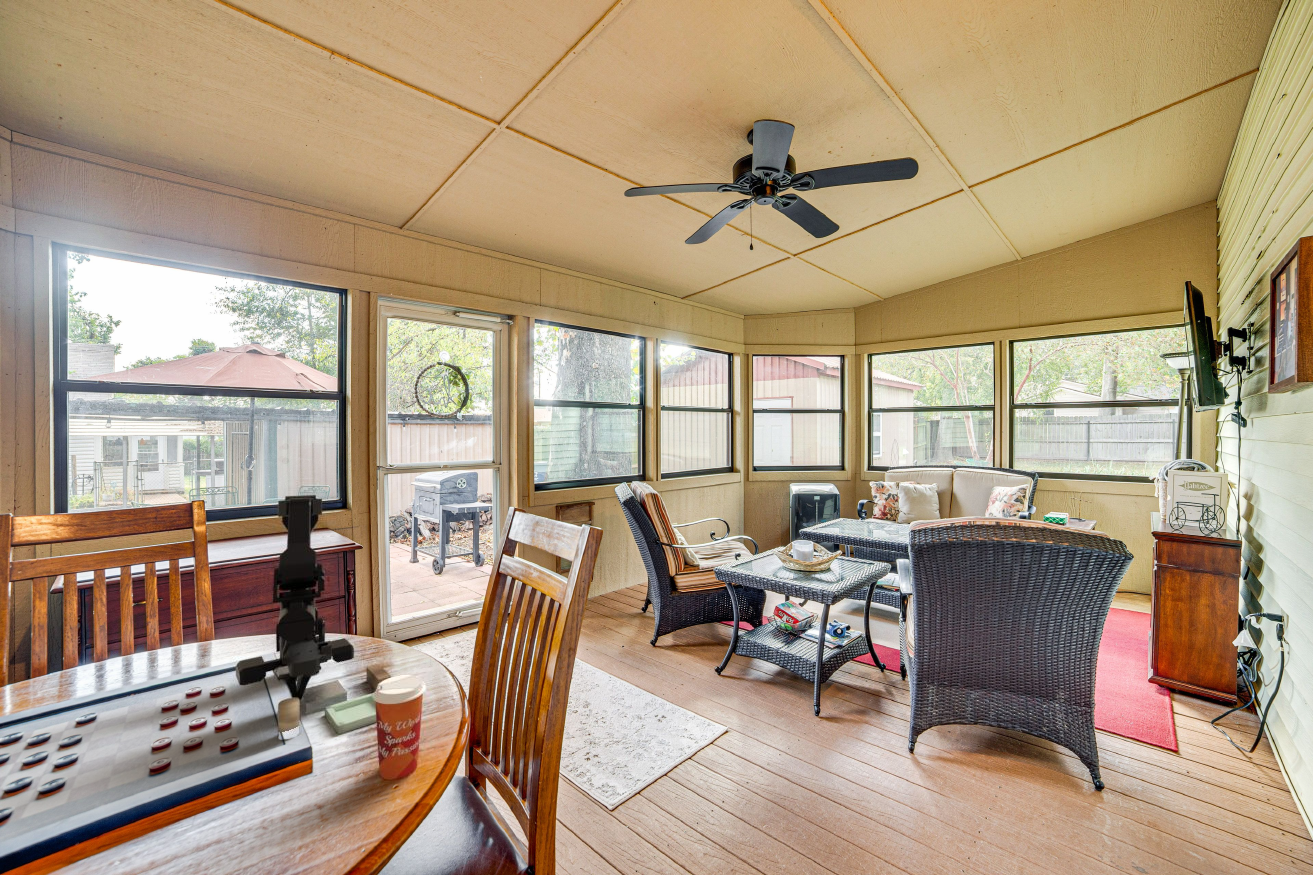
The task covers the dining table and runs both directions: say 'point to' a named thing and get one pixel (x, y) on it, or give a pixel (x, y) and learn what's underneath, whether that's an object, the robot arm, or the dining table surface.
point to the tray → (352, 713)
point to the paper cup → (398, 725)
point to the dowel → (288, 714)
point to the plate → (322, 696)
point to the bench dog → (376, 675)
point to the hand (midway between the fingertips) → (296, 703)
